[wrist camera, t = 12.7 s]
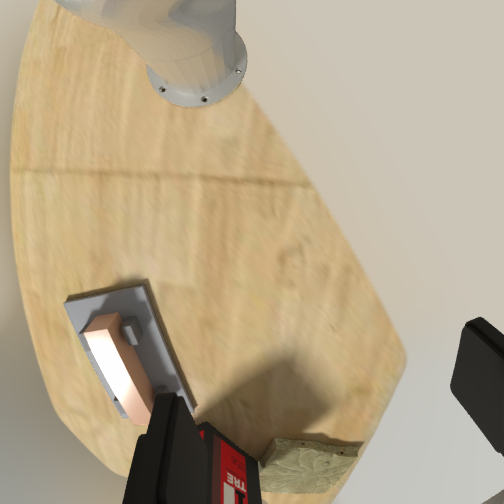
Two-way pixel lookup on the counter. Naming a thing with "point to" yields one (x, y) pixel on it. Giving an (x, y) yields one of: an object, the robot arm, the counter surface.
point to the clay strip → (121, 367)
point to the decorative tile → (303, 466)
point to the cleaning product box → (229, 470)
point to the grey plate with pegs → (130, 337)
